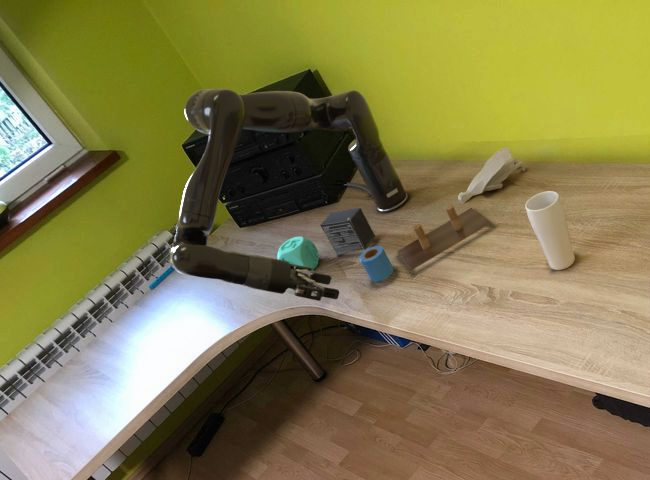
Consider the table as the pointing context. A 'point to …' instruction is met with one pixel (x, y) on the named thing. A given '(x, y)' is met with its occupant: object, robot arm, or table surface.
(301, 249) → the decorative dice
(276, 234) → the table surface
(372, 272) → the tape roll
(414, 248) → the tape rack
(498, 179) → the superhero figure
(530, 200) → the drinking glass
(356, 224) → the small box
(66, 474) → the table surface
